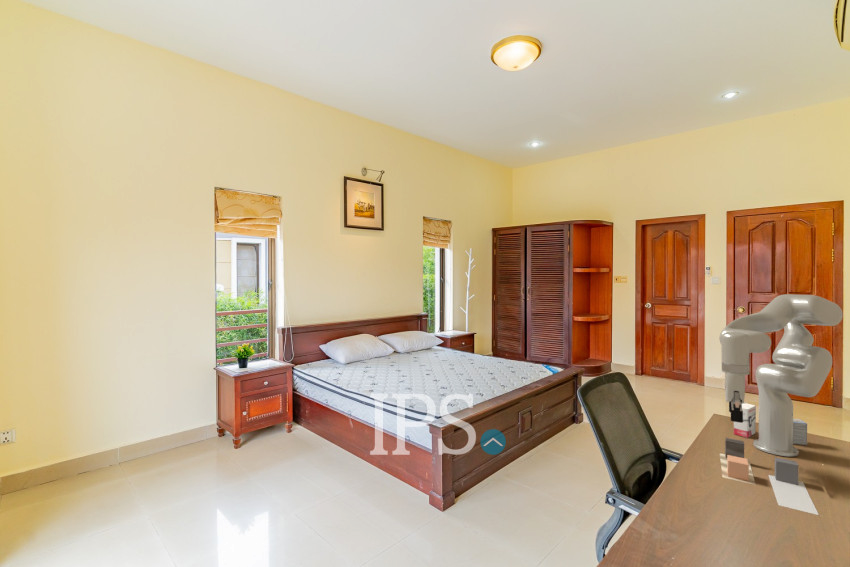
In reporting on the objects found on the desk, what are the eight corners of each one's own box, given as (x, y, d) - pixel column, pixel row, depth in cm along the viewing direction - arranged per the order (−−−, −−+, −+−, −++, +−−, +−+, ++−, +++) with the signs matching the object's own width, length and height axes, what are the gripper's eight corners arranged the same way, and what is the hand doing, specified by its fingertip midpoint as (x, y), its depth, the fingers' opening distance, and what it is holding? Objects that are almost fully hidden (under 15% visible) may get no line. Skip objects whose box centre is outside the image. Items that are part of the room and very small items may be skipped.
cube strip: (719, 456, 139) (720, 436, 139) (748, 462, 135) (749, 442, 134) (722, 480, 123) (722, 458, 123) (755, 488, 118) (755, 465, 118)
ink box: (748, 438, 155) (748, 408, 155) (733, 434, 159) (733, 405, 159) (756, 433, 160) (756, 404, 159) (741, 429, 164) (741, 401, 164)
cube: (727, 470, 127) (727, 454, 127) (747, 474, 124) (747, 458, 124) (728, 476, 123) (728, 460, 123) (748, 481, 120) (748, 465, 120)
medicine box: (800, 441, 152) (800, 419, 152) (807, 445, 148) (807, 423, 148) (775, 438, 155) (775, 416, 154) (781, 443, 150) (781, 420, 150)
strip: (768, 478, 124) (768, 456, 124) (802, 486, 120) (803, 462, 119) (778, 509, 108) (778, 483, 108) (818, 519, 103) (819, 492, 103)
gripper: (720, 361, 144) (721, 407, 145) (722, 372, 130) (723, 423, 131) (746, 364, 140) (747, 411, 141) (752, 375, 126) (752, 427, 126)
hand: (735, 417), depth 136 cm, fingers open, 9 cm apart
